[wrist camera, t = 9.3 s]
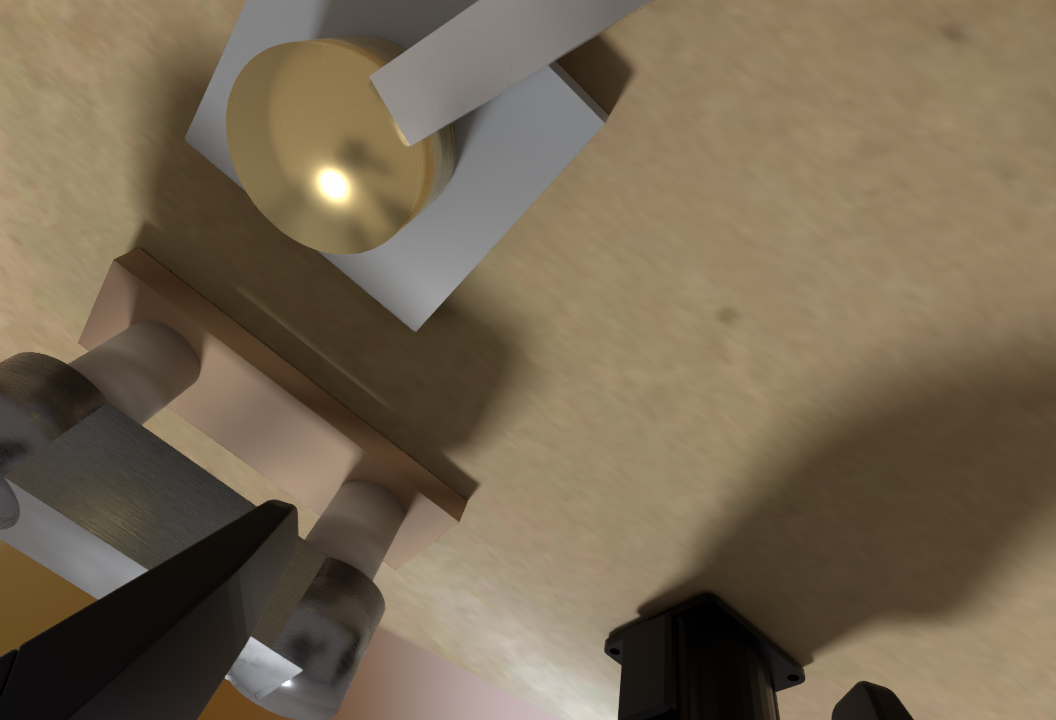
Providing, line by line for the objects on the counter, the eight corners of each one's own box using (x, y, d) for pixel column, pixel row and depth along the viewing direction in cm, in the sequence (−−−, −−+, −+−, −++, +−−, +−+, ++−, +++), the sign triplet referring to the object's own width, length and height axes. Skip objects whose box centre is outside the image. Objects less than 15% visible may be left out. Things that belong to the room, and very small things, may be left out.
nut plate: (609, 116, 16) (605, 123, 15) (427, 316, 21) (415, 332, 20) (345, -155, 14) (320, -166, 13) (209, 132, 19) (183, 139, 18)
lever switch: (360, 243, 18) (309, 283, 16) (260, 93, 16) (183, 111, 14) (921, -62, 12) (991, -79, 9) (859, -357, 10) (924, -481, 8)
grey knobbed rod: (-7, 399, 20) (-125, 468, 17) (17, 328, 18) (-112, 393, 15) (350, 639, 23) (303, 733, 20) (405, 603, 21) (362, 700, 18)
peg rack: (467, 501, 25) (425, 605, 21) (405, 549, 28) (355, 651, 23) (139, 247, 22) (6, 309, 17) (102, 329, 24) (-22, 400, 20)
